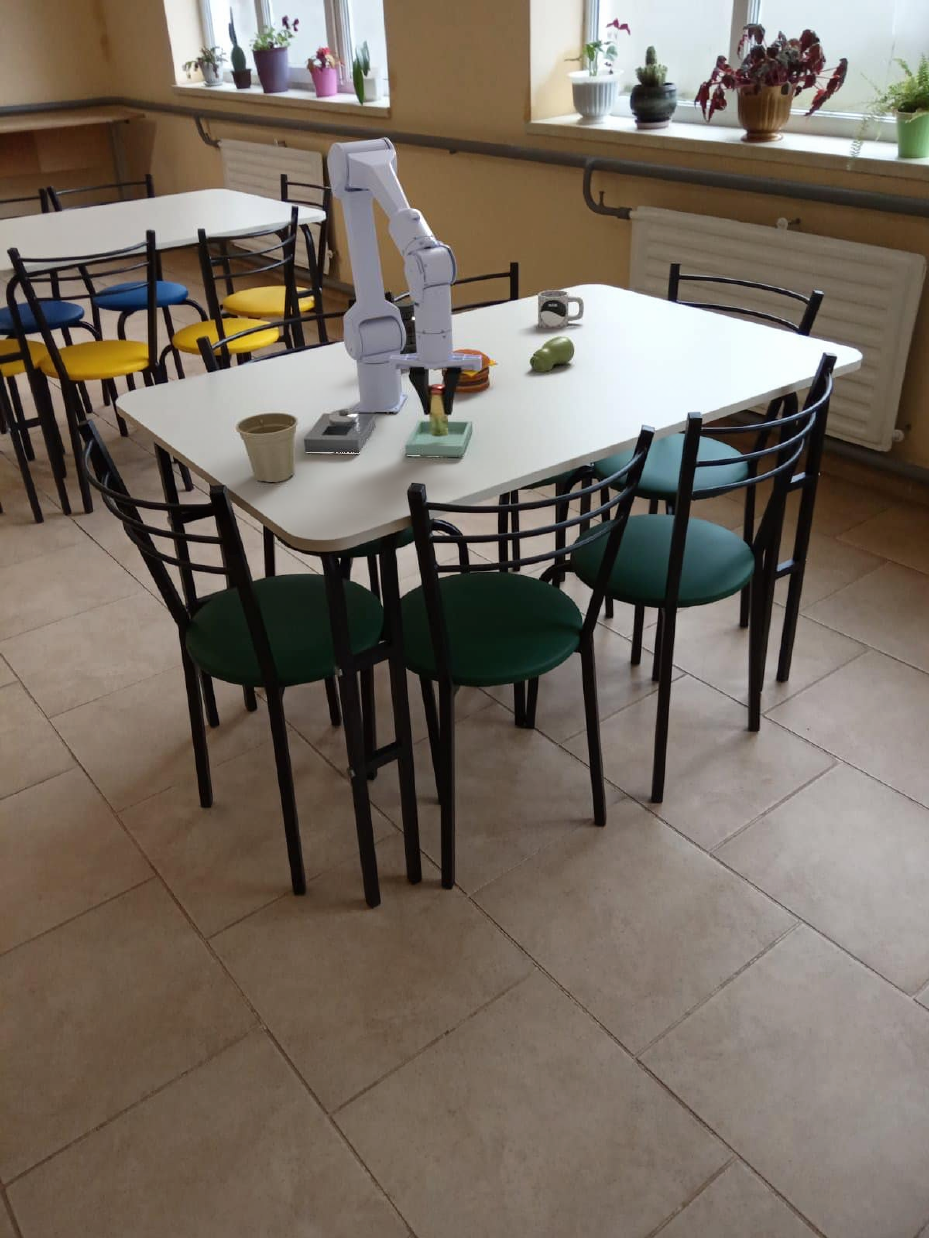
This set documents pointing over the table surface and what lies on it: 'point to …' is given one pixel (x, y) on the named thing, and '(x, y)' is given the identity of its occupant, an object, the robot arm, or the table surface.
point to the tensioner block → (340, 432)
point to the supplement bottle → (408, 325)
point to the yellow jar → (437, 410)
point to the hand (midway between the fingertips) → (438, 413)
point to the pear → (552, 354)
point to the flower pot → (270, 445)
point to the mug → (556, 308)
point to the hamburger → (473, 374)
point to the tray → (439, 440)
